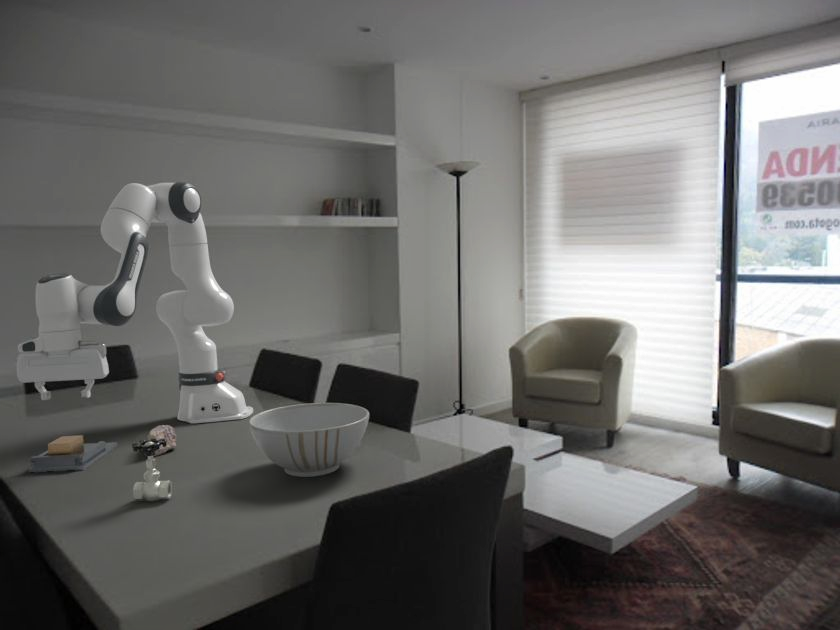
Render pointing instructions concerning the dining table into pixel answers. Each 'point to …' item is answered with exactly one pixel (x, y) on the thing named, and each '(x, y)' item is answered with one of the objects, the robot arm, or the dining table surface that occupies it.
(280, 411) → the decorative bowl
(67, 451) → the cardboard shipping carton
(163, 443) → the valve
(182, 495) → the dining table surface
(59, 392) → the dining table surface
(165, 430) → the mineral specimen
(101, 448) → the tray
